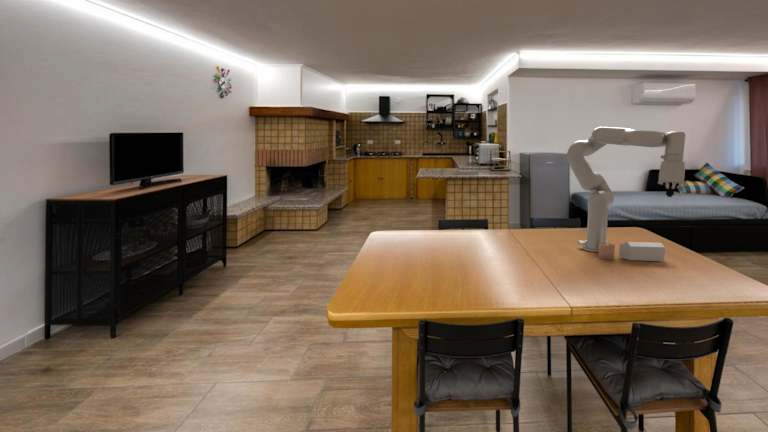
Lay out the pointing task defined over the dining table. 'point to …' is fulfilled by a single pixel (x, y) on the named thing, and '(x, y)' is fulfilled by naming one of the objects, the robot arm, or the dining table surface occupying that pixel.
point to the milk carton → (642, 251)
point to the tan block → (606, 251)
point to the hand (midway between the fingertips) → (669, 196)
